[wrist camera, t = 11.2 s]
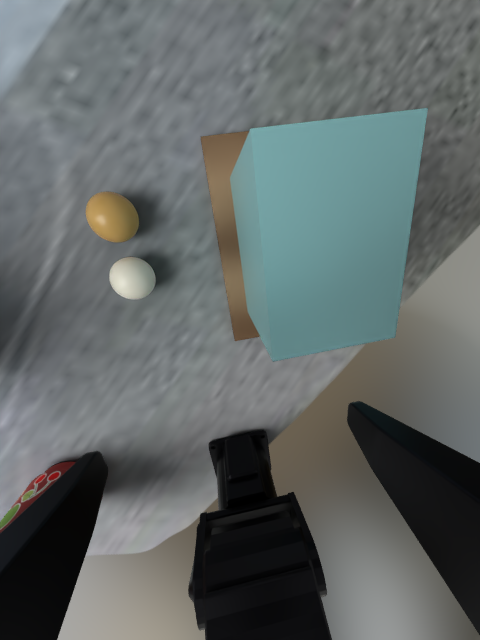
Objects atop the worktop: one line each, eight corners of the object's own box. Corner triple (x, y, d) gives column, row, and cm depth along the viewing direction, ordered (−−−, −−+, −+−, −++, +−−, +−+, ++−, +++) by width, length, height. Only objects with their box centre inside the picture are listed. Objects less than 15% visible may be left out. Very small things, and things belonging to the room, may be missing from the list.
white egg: (163, 290, 18) (155, 300, 15) (126, 296, 18) (111, 308, 15) (153, 252, 17) (142, 256, 14) (112, 258, 17) (94, 263, 14)
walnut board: (337, 319, 21) (340, 321, 21) (234, 338, 21) (235, 341, 20) (343, 122, 16) (347, 119, 15) (200, 139, 15) (200, 136, 14)
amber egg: (149, 238, 17) (137, 239, 14) (107, 244, 16) (87, 247, 14) (136, 192, 16) (121, 183, 13) (92, 198, 15) (66, 191, 13)
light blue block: (325, 298, 20) (395, 337, 12) (247, 311, 19) (272, 361, 12) (326, 165, 16) (427, 107, 9) (229, 177, 16) (250, 128, 8)
